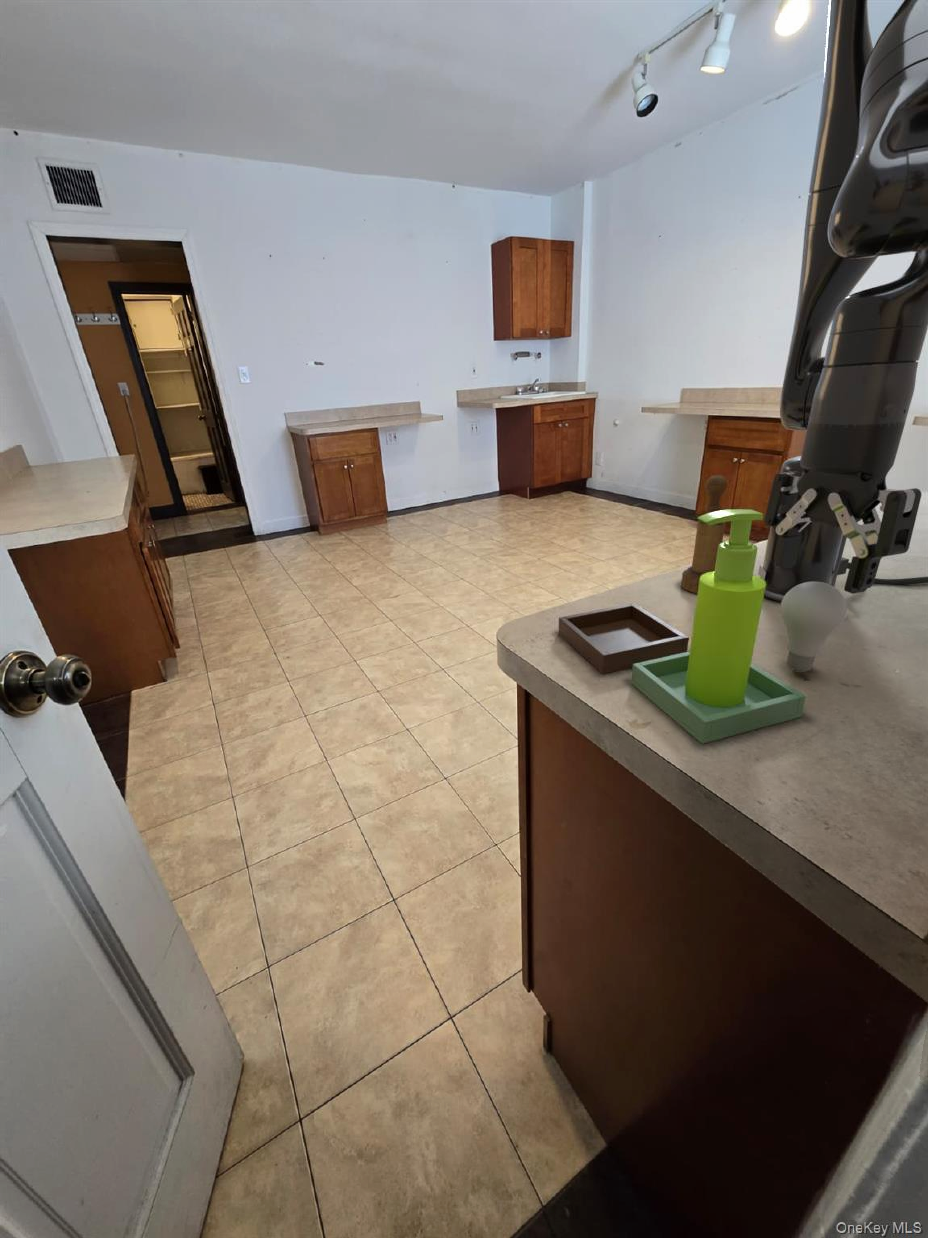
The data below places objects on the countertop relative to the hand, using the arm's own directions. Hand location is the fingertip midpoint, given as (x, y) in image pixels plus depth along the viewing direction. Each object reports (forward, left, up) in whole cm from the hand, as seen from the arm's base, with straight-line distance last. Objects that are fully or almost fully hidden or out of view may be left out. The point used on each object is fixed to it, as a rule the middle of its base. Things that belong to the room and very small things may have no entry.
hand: (817, 578), depth 55 cm
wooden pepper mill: (-8, -26, -12) cm, 30 cm away
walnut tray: (+15, -14, -12) cm, 23 cm away
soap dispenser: (+13, +1, -11) cm, 17 cm away
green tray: (+13, +1, -12) cm, 17 cm away
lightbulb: (0, 0, -12) cm, 12 cm away
